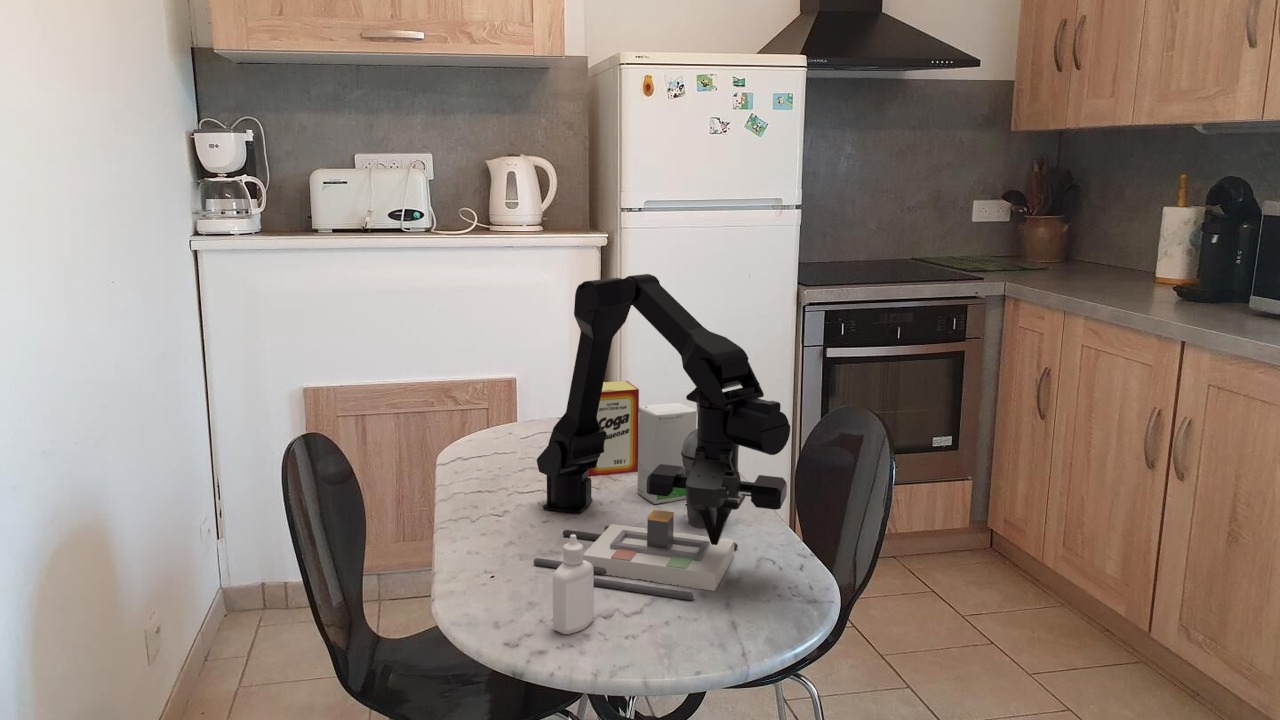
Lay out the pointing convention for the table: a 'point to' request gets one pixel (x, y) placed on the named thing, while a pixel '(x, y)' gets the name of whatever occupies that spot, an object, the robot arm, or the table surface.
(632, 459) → the baking soda box
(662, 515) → the breaker toggle
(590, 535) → the rod
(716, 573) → the breaker switch base
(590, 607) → the eye dropper bottle
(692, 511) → the beverage cup
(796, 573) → the table surface
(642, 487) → the skincare box
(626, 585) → the rod
